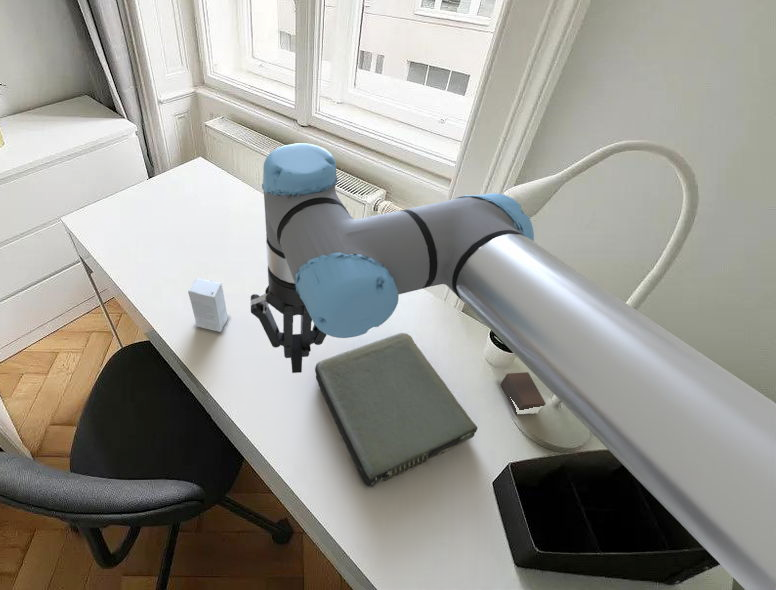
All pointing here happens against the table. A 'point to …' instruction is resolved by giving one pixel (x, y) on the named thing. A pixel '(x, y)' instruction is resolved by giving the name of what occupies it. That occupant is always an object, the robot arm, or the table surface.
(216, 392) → the table surface
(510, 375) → the brown and white block
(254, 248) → the table surface
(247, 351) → the table surface
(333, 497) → the table surface
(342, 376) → the network switch
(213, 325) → the cosmetic box
